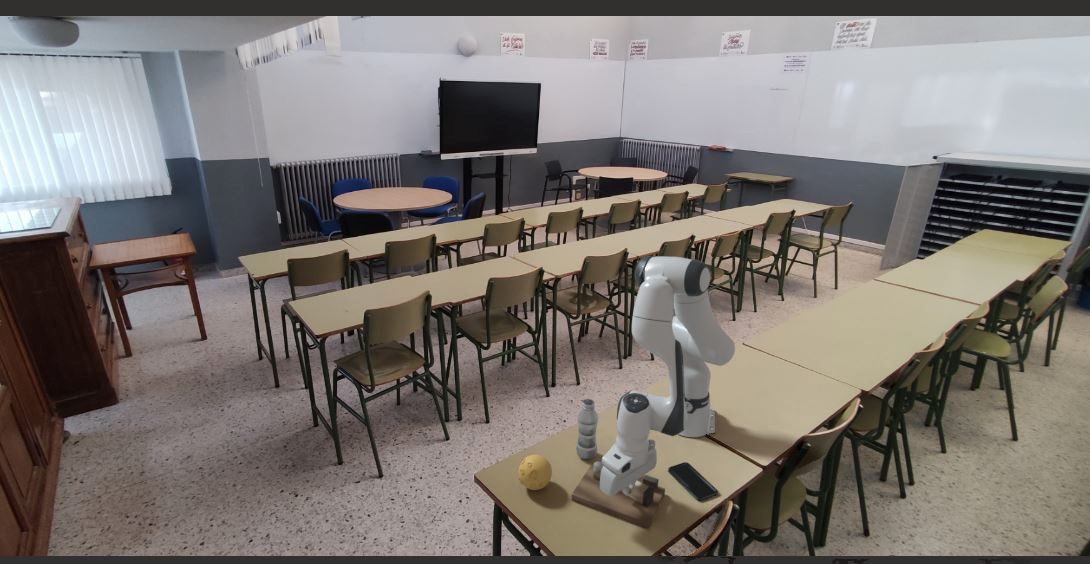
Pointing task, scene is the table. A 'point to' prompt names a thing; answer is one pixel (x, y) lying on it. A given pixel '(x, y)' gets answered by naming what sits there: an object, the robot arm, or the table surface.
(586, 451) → the plastic bottle
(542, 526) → the table surface
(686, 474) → the phone
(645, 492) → the stool leg
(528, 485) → the stress ball
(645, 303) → the robot arm
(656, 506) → the seat board
